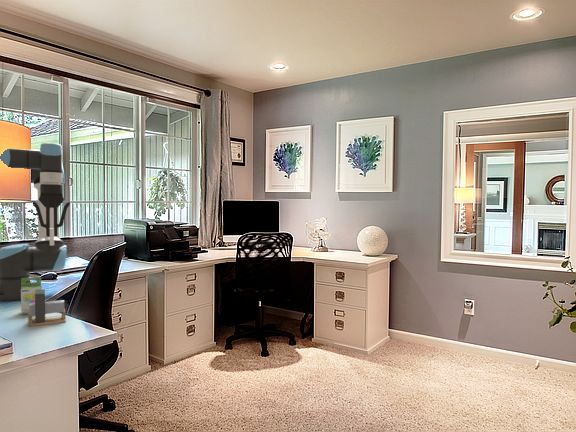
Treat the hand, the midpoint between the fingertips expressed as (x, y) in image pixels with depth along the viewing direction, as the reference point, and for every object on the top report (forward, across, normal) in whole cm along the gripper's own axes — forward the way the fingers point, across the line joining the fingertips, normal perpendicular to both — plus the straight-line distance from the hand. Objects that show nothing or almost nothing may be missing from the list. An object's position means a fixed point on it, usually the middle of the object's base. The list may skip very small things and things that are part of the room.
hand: (51, 245), depth 167 cm
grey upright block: (+26, -4, -12) cm, 29 cm away
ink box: (+27, -7, +4) cm, 28 cm away
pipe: (+23, -2, -12) cm, 26 cm away
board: (+26, -2, -12) cm, 29 cm away
